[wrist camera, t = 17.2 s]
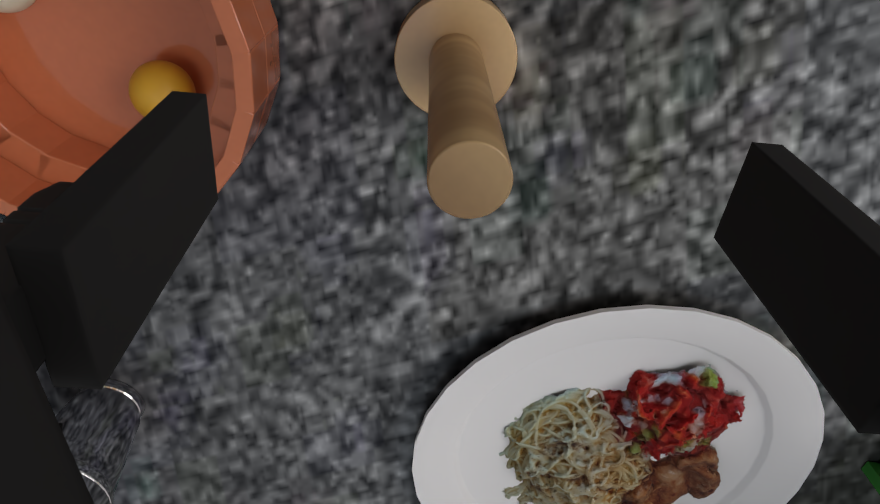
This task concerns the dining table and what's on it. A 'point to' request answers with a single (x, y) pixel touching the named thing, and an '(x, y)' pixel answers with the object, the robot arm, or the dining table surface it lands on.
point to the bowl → (124, 80)
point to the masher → (460, 98)
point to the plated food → (624, 415)
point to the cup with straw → (102, 434)
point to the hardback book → (873, 474)
